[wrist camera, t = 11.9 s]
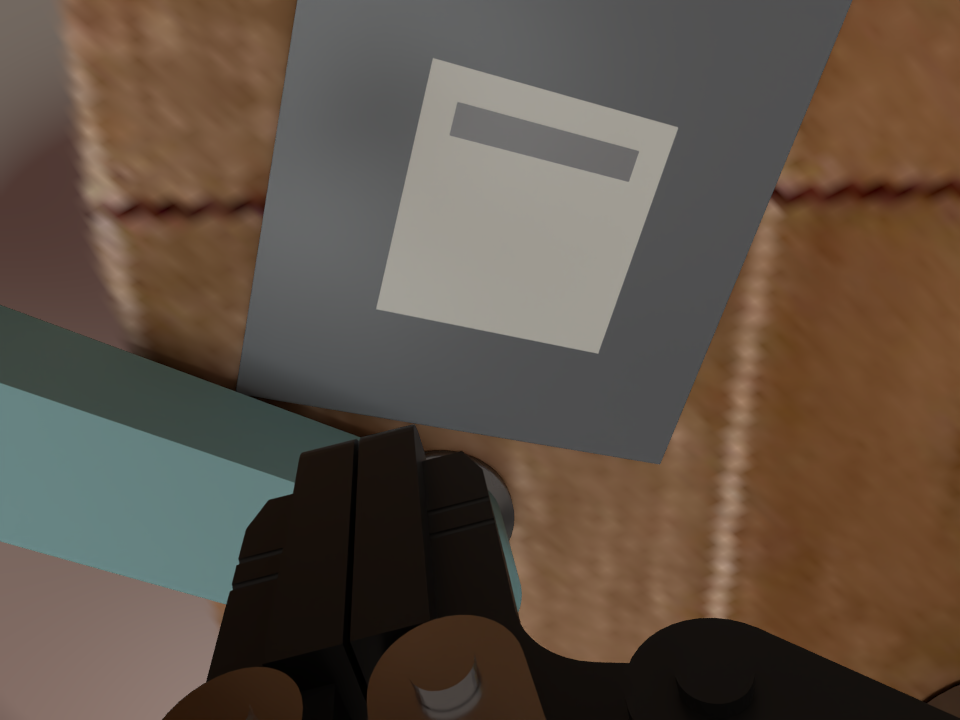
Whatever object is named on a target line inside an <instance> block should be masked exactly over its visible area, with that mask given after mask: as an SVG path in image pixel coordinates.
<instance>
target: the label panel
mask: <svg viewBox="0 0 960 720" xmlns="http://www.w3.org/2000/svg"><path fill="white" fill-rule="evenodd" d="M851 2H852V0H297V6H296V12H295V18H294V25H293V31H292V37H291V44H290V50H289V56H288V63H287V69H286V76H285V82H284V88H283V95H282V101H281V107H280V114H279V120H278V126H277V133H276V139H275V145H274V152H273V158H272V164H271V171H270V177H269V183H268V190H267V196H266V203H265V209H264V215H263V222H262V228H261V234H260V241H259V247H258V253H257V260H256V266H255V272H254V279H253V285H252V291H251V298H250V304H249V311H248V317H247V323H246V330H245V336H244V342H243V349H242V355H241V361H240V368H239V374H238V380H237V387H236V392H238V393H241V394H244V395H248V396H254V397H260V398H266V399H272V400H278V401H284V402H290V403H296V404H302V405H308V406H314V407H320V408H326V409H332V410H338V411H344V412H350V413H356V414H362V415H368V416H374V417H380V418H386V419H392V420H398V421H404V422H410V423H416V424H422V425H428V426H434V427H440V428H446V429H452V430H457V431H463V432H469V433H475V434H481V435H487V436H493V437H499V438H505V439H511V440H517V441H523V442H529V443H535V444H541V445H547V446H553V447H559V448H565V449H571V450H577V451H583V452H589V453H595V454H601V455H607V456H613V457H619V458H625V459H631V460H637V461H643V462H649V463H655V464H660V463H661V461H662V458H663V456H664V453H665V451H666V449H667V446H668V444H669V441H670V439H671V437H672V434H673V432H674V429H675V427H676V424H677V422H678V420H679V417H680V415H681V412H682V410H683V408H684V405H685V403H686V400H687V398H688V396H689V393H690V391H691V388H692V386H693V383H694V381H695V379H696V376H697V374H698V371H699V369H700V367H701V364H702V362H703V359H704V357H705V354H706V352H707V350H708V347H709V345H710V342H711V340H712V338H713V335H714V333H715V330H716V328H717V326H718V323H719V321H720V318H721V316H722V313H723V311H724V309H725V306H726V304H727V301H728V299H729V297H730V294H731V292H732V289H733V287H734V285H735V282H736V280H737V277H738V275H739V272H740V270H741V268H742V265H743V263H744V260H745V258H746V256H747V253H748V251H749V248H750V246H751V243H752V241H753V239H754V236H755V234H756V231H757V229H758V227H759V224H760V222H761V219H762V217H763V215H764V212H765V210H766V207H767V205H768V202H769V200H770V198H771V195H772V193H773V190H774V188H775V186H776V183H777V181H778V178H779V176H780V174H781V171H782V169H783V166H784V164H785V161H786V159H787V157H788V154H789V152H790V149H791V147H792V145H793V142H794V140H795V137H796V135H797V132H798V130H799V128H800V125H801V123H802V120H803V118H804V116H805V113H806V111H807V108H808V106H809V104H810V101H811V99H812V96H813V94H814V91H815V89H816V87H817V84H818V82H819V79H820V77H821V75H822V72H823V70H824V67H825V65H826V62H827V60H828V58H829V55H830V53H831V50H832V48H833V46H834V43H835V41H836V38H837V36H838V34H839V31H840V29H841V26H842V24H843V21H844V19H845V17H846V14H847V12H848V9H849V7H850V5H851Z"/></svg>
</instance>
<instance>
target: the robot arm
mask: <svg viewBox="0 0 960 720" xmlns="http://www.w3.org/2000/svg"><path fill="white" fill-rule="evenodd" d="M238 560H239V565H236V569H235V573H234V577H233V581H232V588H233V590H232V591H230V592H229V596H228V600H227V604H226V608H225V612H224V615H223V619H222V623H221V627H220V631H219V635H218V638H217V642H216V646H215V650H214V654H213V658H212V662H211V665H210V670H209V673H208V677H207V681H206V683H204V684H202V685H201V686H199V687H198V688H196V689H195V690H193V691H192V692H190V693H189V694H188V695H187V696H185V697H184V698H183V699H182V700H181V701H179V702H178V703H177V704H176V705H175V706H174V707H173V708H172V709H171V710H170V711H169V712H168V713H167V714H166V716H165V717H164V718H163V719H162V720H960V685H958V686H956V687H954V688H952V689H950V690H948V691H946V692H944V693H942V694H940V695H938V696H937V697H935V698H934V699H932V700H931V701H930V702H928V703H925V702H923V701H920V700H918V699H916V698H914V697H911V696H909V695H907V694H905V693H902V692H900V691H898V690H896V689H893V688H891V687H889V686H887V685H884V684H882V683H880V682H878V681H875V680H873V679H871V678H869V677H867V676H864V675H862V674H860V673H858V672H855V671H853V670H851V669H849V668H846V667H844V666H842V665H840V664H837V663H835V662H833V661H831V660H828V659H826V658H824V657H822V656H819V655H817V654H815V653H813V652H810V651H808V650H806V649H804V648H801V647H799V646H797V645H795V644H792V643H790V642H788V641H786V640H784V639H781V638H779V637H777V636H775V635H772V634H770V633H768V632H766V631H763V630H761V629H759V628H756V627H754V626H751V625H748V624H745V623H742V622H738V621H733V620H729V619H719V618H699V619H692V620H686V621H682V622H679V623H676V624H672V625H670V626H668V627H666V628H664V629H662V630H659V631H658V632H656V633H655V634H654V635H652V636H651V637H649V638H648V639H647V640H646V641H645V642H644V643H643V644H642V645H641V646H640V647H639V648H638V650H637V651H636V652H635V654H634V655H633V657H632V659H631V661H630V663H602V662H587V661H578V660H574V659H570V658H565V657H563V656H560V655H557V654H555V653H552V652H551V651H549V650H547V649H545V648H543V647H542V646H540V645H539V644H538V643H537V642H535V641H534V640H533V639H532V638H531V637H530V636H529V635H528V634H527V633H526V632H525V631H524V629H523V627H522V626H521V623H520V619H519V614H518V610H517V606H516V602H515V597H514V593H513V589H512V585H511V580H510V576H509V572H508V568H507V563H506V559H505V555H504V551H503V547H502V543H501V540H500V536H499V532H498V528H497V524H496V520H495V516H494V512H493V508H492V504H491V500H490V496H489V492H488V488H487V484H486V480H485V476H484V473H483V469H482V468H481V467H479V466H478V465H477V464H476V463H475V462H474V461H473V460H471V459H470V458H469V457H468V456H467V455H466V454H464V453H463V452H462V451H460V452H456V453H452V454H448V455H444V456H440V457H436V458H432V459H428V460H426V457H425V453H424V450H423V446H422V443H421V440H420V436H419V433H418V430H417V428H416V426H415V424H413V425H409V426H405V427H401V428H397V429H393V430H389V431H385V432H381V433H377V434H373V435H369V436H365V437H361V438H360V440H359V441H358V439H354V440H350V441H346V442H342V443H338V444H334V445H330V446H326V447H322V448H318V449H314V450H310V451H306V452H302V453H301V454H300V457H299V462H298V468H297V473H296V479H295V484H294V490H293V494H290V495H286V496H282V497H278V498H274V499H270V500H268V501H267V502H266V504H265V505H264V506H263V508H262V509H261V510H260V512H259V513H258V514H257V515H256V517H255V518H254V519H253V521H252V522H251V523H250V524H249V526H248V527H247V528H246V531H245V535H244V538H243V542H242V546H241V550H240V554H239V558H238Z"/></svg>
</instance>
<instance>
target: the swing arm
mask: <svg viewBox="0 0 960 720" xmlns="http://www.w3.org/2000/svg"><path fill="white" fill-rule="evenodd" d="M354 439H358V441H359V440H360V437H358V436H355V435H352V434H350V433H347V432H344V431H341V430H339V429H336V428H333V427H331V426H328V425H325V424H322V423H320V422H317V421H314V420H312V419H309V418H306V417H303V416H301V415H298V414H295V413H293V412H290V411H287V410H284V409H282V408H279V407H276V406H274V405H271V404H268V403H265V402H263V401H260V400H257V399H254V398H252V397H249V396H246V395H244V394H241V393H238V392H235V391H233V390H230V389H227V388H225V387H222V386H219V385H216V384H214V383H211V382H208V381H206V380H203V379H200V378H197V377H195V376H192V375H189V374H187V373H184V372H181V371H178V370H176V369H173V368H170V367H168V366H165V365H162V364H159V363H157V362H154V361H151V360H149V359H146V358H143V357H140V356H138V355H135V354H132V353H130V352H127V351H124V350H121V349H119V348H116V347H113V346H111V345H108V344H105V343H102V342H100V341H97V340H94V339H92V338H88V337H86V336H83V335H81V334H78V333H75V332H72V331H70V330H67V329H64V328H61V327H59V326H56V325H53V324H51V323H48V322H45V321H43V320H40V319H37V318H34V317H32V316H29V315H26V314H23V313H21V312H18V311H15V310H13V309H10V308H7V307H5V306H2V305H0V541H1V542H5V543H8V544H12V545H15V546H19V547H22V548H26V549H30V550H33V551H37V552H40V553H44V554H48V555H51V556H55V557H59V558H62V559H65V560H69V561H73V562H76V563H80V564H84V565H87V566H91V567H94V568H98V569H101V570H105V571H109V572H112V573H116V574H119V575H123V576H127V577H130V578H134V579H137V580H141V581H144V582H148V583H152V584H155V585H159V586H162V587H166V588H169V589H173V590H177V591H180V592H184V593H187V594H191V595H195V596H198V597H202V598H205V599H209V600H213V601H216V602H220V603H223V604H227V600H228V596H229V592H230V591H232V590H233V588H232V581H233V577H234V573H235V569H236V565H239V560H238V558H239V554H240V550H241V546H242V542H243V538H244V535H245V531H246V528H247V527H248V526H249V524H250V523H251V522H252V521H253V519H254V518H255V517H256V515H257V514H258V513H259V512H260V510H261V509H262V508H263V506H264V505H265V504H266V502H267V501H268V500H270V499H274V498H278V497H282V496H286V495H290V494H293V490H294V484H295V479H296V473H297V468H298V462H299V457H300V454H301V453H302V452H306V451H310V450H314V449H318V448H322V447H326V446H330V445H334V444H338V443H342V442H346V441H350V440H354ZM488 492H489V496H490V500H491V504H492V508H493V512H494V516H495V520H496V524H497V528H498V532H499V536H500V540H501V543H502V547H503V551H504V555H505V559H506V563H507V568H508V572H509V576H510V580H511V585H512V589H513V593H514V597H515V602H516V606H517V610H518V611H519V609H520V605H521V597H522V592H521V585H520V581H519V577H518V573H517V570H516V566H515V562H514V559H513V555H512V551H511V547H510V544H509V540H508V536H507V533H506V529H505V525H504V521H503V518H502V514H501V511H500V507H499V505H498V503H497V501H496V499H495V498H494V496H493V495H492V494H491V492H490V491H489V490H488Z"/></svg>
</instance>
